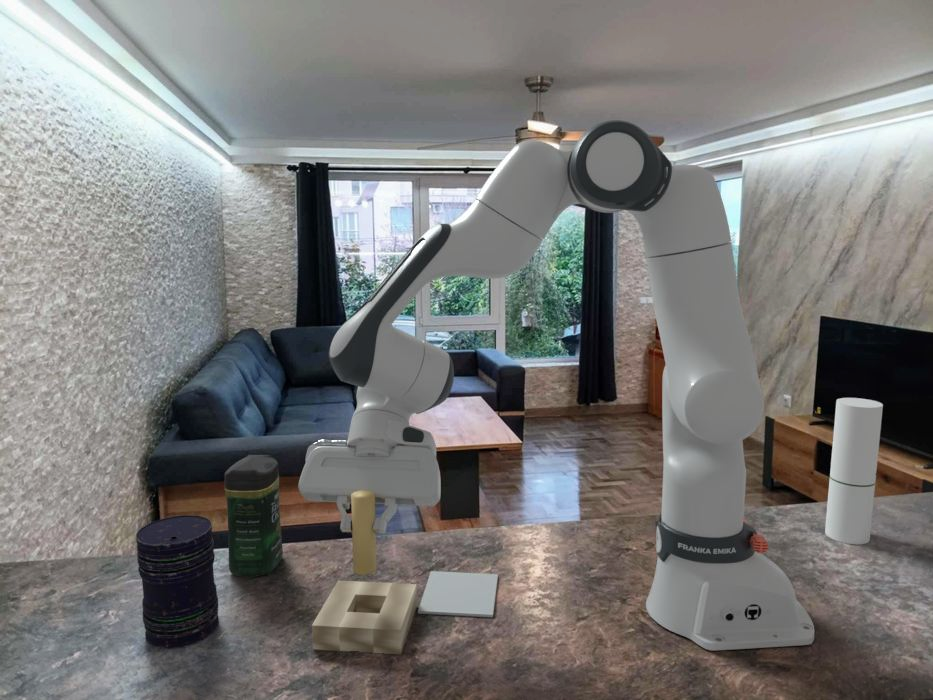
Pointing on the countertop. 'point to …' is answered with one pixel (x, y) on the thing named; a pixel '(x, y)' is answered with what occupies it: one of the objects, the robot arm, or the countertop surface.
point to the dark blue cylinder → (177, 581)
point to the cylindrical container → (853, 470)
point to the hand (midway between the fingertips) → (362, 531)
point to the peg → (363, 532)
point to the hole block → (365, 617)
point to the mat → (459, 594)
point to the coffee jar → (253, 516)
